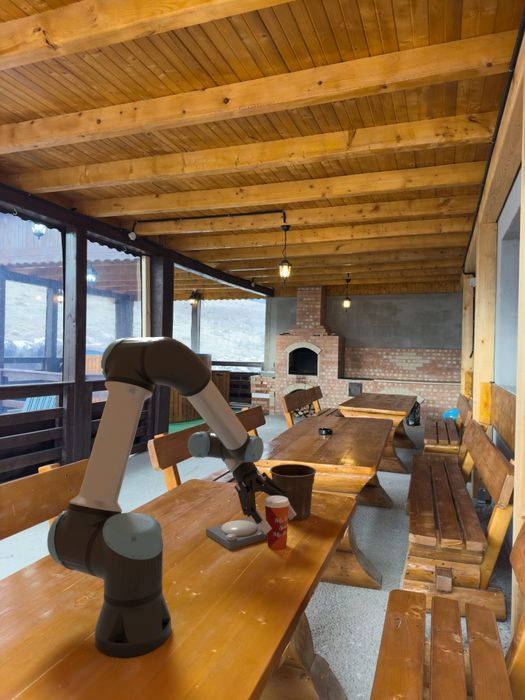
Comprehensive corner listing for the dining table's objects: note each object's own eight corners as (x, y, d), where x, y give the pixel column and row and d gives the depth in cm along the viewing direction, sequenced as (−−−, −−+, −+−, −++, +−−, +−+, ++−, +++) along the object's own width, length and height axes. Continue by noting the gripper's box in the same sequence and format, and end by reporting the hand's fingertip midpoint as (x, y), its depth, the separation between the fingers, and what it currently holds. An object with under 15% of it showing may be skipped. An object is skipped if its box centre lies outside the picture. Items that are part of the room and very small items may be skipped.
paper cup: (280, 553, 134) (279, 505, 134) (258, 547, 139) (258, 499, 139) (295, 544, 140) (295, 497, 140) (274, 538, 145) (274, 493, 145)
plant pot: (318, 524, 157) (318, 475, 157) (270, 524, 157) (269, 475, 157) (314, 507, 173) (313, 463, 173) (270, 507, 173) (270, 463, 173)
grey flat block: (229, 549, 137) (229, 539, 137) (206, 534, 148) (206, 525, 148) (273, 536, 146) (273, 527, 146) (248, 523, 158) (248, 514, 158)
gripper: (257, 465, 159) (295, 518, 151) (208, 482, 139) (249, 545, 130) (270, 451, 156) (310, 505, 148) (221, 467, 136) (264, 530, 127)
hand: (281, 524), depth 139 cm, fingers open, 13 cm apart
